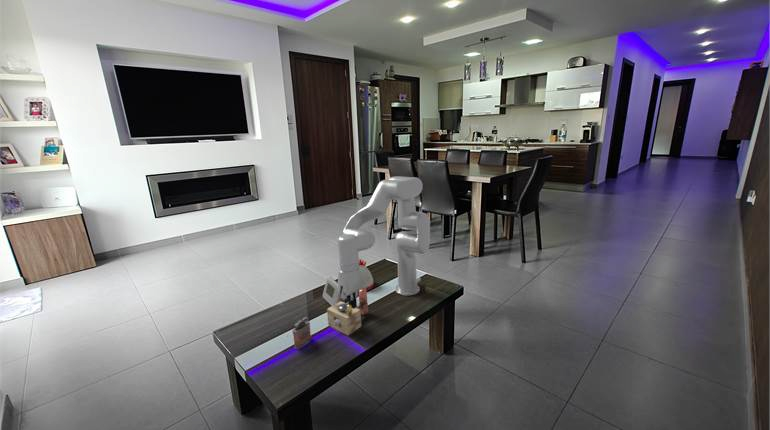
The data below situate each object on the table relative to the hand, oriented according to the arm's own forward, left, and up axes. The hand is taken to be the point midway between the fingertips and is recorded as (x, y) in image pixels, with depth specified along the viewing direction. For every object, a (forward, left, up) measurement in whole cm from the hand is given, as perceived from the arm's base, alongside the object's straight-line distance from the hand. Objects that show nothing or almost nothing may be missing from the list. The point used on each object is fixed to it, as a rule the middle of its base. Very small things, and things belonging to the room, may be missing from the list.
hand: (352, 306), depth 131 cm
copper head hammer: (-4, -6, -10) cm, 13 cm away
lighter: (+18, -10, -11) cm, 24 cm away
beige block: (0, -5, -11) cm, 12 cm away
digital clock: (-11, -25, -11) cm, 29 cm away
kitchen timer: (-32, -26, -11) cm, 43 cm away
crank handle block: (+1, -3, -3) cm, 4 cm away
